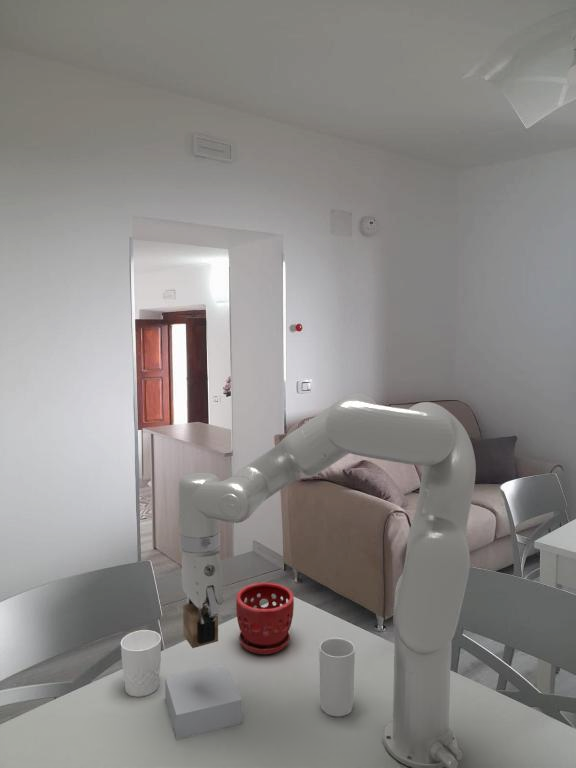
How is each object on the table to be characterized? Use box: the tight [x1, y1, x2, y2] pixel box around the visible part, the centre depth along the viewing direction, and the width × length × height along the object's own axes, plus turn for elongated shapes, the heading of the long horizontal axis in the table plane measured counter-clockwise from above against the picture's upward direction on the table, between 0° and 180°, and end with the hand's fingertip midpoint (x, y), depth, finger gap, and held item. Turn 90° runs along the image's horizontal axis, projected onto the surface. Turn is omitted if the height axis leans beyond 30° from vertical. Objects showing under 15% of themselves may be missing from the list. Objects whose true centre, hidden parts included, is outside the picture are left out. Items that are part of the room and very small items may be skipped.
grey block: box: [164, 663, 243, 740], centre depth 111 cm, size 12×12×5 cm
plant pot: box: [235, 582, 295, 655], centre depth 134 cm, size 13×13×12 cm
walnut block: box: [182, 601, 219, 649], centre depth 110 cm, size 5×5×6 cm
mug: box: [318, 636, 356, 717], centre depth 114 cm, size 10×7×12 cm, turn 172°
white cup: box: [120, 629, 162, 698], centre depth 118 cm, size 8×8×10 cm
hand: (200, 633), depth 110 cm, fingers closed on walnut block, 5 cm apart
